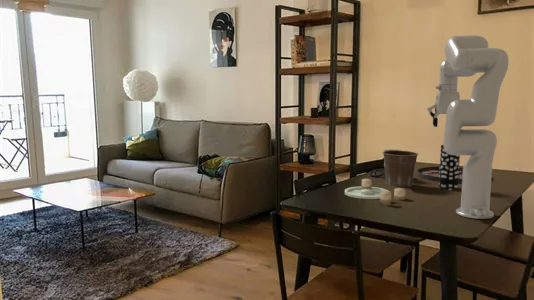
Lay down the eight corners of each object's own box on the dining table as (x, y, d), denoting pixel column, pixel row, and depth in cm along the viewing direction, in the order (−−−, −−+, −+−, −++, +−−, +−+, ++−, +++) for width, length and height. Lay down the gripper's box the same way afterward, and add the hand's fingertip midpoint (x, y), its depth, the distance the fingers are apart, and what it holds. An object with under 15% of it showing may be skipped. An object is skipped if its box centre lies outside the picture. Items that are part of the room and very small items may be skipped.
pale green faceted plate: (391, 202, 178) (391, 196, 178) (344, 200, 182) (344, 194, 181) (387, 191, 197) (387, 186, 196) (344, 190, 200) (345, 184, 200)
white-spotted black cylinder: (459, 190, 198) (462, 147, 195) (440, 189, 199) (442, 146, 197) (455, 186, 206) (458, 144, 203) (437, 185, 207) (439, 144, 205)
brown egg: (391, 205, 173) (392, 193, 172) (380, 205, 174) (380, 193, 173) (390, 203, 177) (391, 191, 176) (379, 202, 178) (380, 190, 177)
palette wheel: (417, 181, 219) (417, 176, 219) (416, 169, 252) (417, 165, 252) (494, 185, 208) (494, 180, 208) (483, 172, 241) (483, 168, 241)
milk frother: (402, 180, 220) (403, 152, 218) (370, 180, 223) (371, 151, 221) (399, 175, 234) (400, 148, 232) (369, 174, 236) (369, 147, 234)
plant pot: (423, 185, 208) (424, 152, 206) (405, 191, 197) (406, 156, 195) (393, 180, 220) (394, 149, 218) (375, 185, 209) (375, 152, 207)
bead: (371, 192, 192) (372, 181, 191) (361, 191, 193) (361, 180, 192) (371, 189, 196) (371, 179, 195) (361, 189, 197) (361, 178, 196)
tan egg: (405, 202, 177) (406, 190, 177) (394, 202, 178) (394, 190, 178) (404, 200, 182) (404, 188, 181) (393, 199, 183) (393, 188, 182)
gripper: (431, 88, 192) (429, 127, 194) (471, 88, 191) (469, 127, 193) (426, 88, 199) (424, 126, 201) (464, 88, 198) (462, 125, 200)
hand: (446, 126), depth 197 cm, fingers open, 9 cm apart
